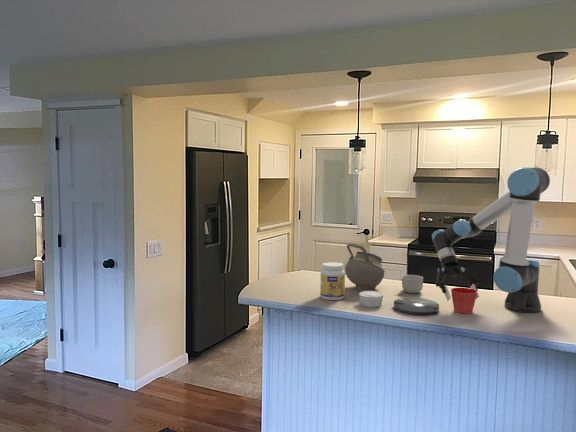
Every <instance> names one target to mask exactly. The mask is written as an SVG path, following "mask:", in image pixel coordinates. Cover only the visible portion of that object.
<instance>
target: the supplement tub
mask: <svg viewBox="0 0 576 432" xmlns="http://www.w3.org/2000/svg"><path fill="white" fill-rule="evenodd" d="M321 268H322V269H321V270H320V287H319V288H320V291H319V292H320V293H319V295H320V298H322V299H324V300H325V301H326V300H327V301H340V300H342V299H344V298H345V296H346V294H345V293H346V289H345V288H346V287H345V285H346V272H345V267H344V263H341V262H336V261H335V262H333V261H332V262H330V261H329V262H323V263H322V266H321Z"/></svg>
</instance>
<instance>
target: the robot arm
mask: <svg viewBox="0 0 576 432" xmlns="http://www.w3.org/2000/svg"><path fill="white" fill-rule="evenodd" d="M506 182H507V184H506V185H507V189H508V191H507V192H506V193H505V194H503V195H502V196H500V197H499V198H498V199H496V200H495V201H493V202H491V204H490V205H488V206H487V207H485V208H484V209H482V210H481V211H480V212H478V213H477V214H476V215H474V216H472V217H471V218H470V219H469V220H466V219H462V218H461V219H458V220H457V221H455V222H454V223H453V224H452V225H450V226H449V227H448V228H446V229H438V230H435V231H433V233H432V234H431V239H432V243H433V245H434V248H435V250H436V253H437V255H438V259H439V261H440V263H441V266H439V267H438V268H437V269H436V271H437V277H436V281H435V287H438V288H439V289H441V292H442V293H443V294H444V296H445V299H446V301H447V302H448V301H449V300H451V299H452V295H451V293H450V291H449V288H448V286H447V284H446V282H447V280H448V278H449V277H450V278H454V277H456V278H457V277H458V278H459V279H461V280H463V281H464V282H465V283H466V284H468V285H469V287H470V289H474V290H476V291H477V295H476V299H475V300H478V299H479V298H480V296H479V293H478V291H479V290H478V287H477V285H478V284H479V282H480V281H479V280H478V278H476V277H475V275H474V274H472V272H471V271H470V270H469V269H468V268H467V265H463V266H462V267H461V266H460V263H459V261H458V258H457V256H456V253H455V251H454V247H453V245H454V244H456V243H457V242H459V241H460V240H461V239H466V238H470V237H471V238H472V237H475V236H478V235H479V234H481V232H482V231H483V230H485V229H486V228H487V227H488V226H490V225H491V224H493V223H495V222H496V221H498V220H499V219H501V218H502V217H503V216H506V214H508V213H509V212H510V216H509V223H508V229H507V237H506V242H505V243H506V244H505V248H504V255H503V256H502V257H500V258H499V264H498V267H497V268H496V269H495V271H494V273H493V282H494V285H495V286H497V288H498V289H500V291H502V292H505V293H507V295H506V297H505V300H504V308H506V309H507V310H511V311H515V312H519V313H527V314H529V313H531V314H534V313H535V314H536V313H539V312H541V311H542V304H541V300H540V296H539V293H538V292H539V278H540V277H539V276H540V269H541V268H540V262H539V261H538V260H537V259H530V258H527V257H528V249H529V243H530V235H531V231H532V223H533V218H534V217H533V216H534V210H535V205H536V204H537V203H539V202H540V200H541V194H542V193H544V192H545V191H547V189H548V188H549V186H550V184H551V183H550V182H551V178H550V175H549V173H548V172H547V171H546V170H545V169H543V168H540V167H526V166H525V167H521V168H516V169H514V171H512V172H511V173H510V175H509V176H508V178H507V181H506ZM443 272H444V273H445V275H444V278H443V279H442V275H443ZM441 280H442V281H441Z"/></svg>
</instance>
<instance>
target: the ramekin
mask: <svg viewBox="0 0 576 432" xmlns="http://www.w3.org/2000/svg"><path fill="white" fill-rule="evenodd" d="M358 297H359V300H360V304H361V306H363V307H367V308H379V307H381V305H382V302H383V299H384V293H383V292H380V291H376V290H373V291H363V290H362V291H361V292H359V293H358Z"/></svg>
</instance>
